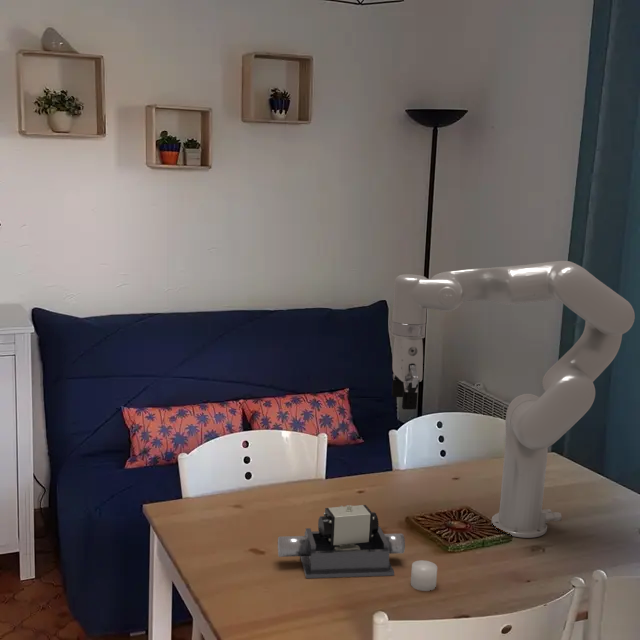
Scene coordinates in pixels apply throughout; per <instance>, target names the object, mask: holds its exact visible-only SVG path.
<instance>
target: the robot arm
mask: <svg viewBox="0 0 640 640" xmlns="http://www.w3.org/2000/svg"><path fill="white" fill-rule="evenodd" d="M393 288H394V289H393V305H392V306H393V307H392V317H391V318H392V319H391V320H392V321H391V333H390V335H391V336H392V337H394V341H393V342H394V343H393V350H392V351H393V352H392V372H393V374H392V379H393V380H392V383H391V384H392V385H391V396H392V398H402V403H401V408H402V410H417V406H418V404H417V403H418V392H419V391H418V387H419V384H418V383H420V382H422V380H423V374H424V373H423V371H424V370H423V369H424V368H423V367H424V365H423V364H424V343H423V339H424V338H426V326H427V325H426V323H427V309H428V310H434V311H439V312H446V313H447V312H453V311H454V310H456V309H458V308H459V307H460V306H461V305H462V303H463V302H477V301H479V302H480V301H482V302H485V301H486V302H492V303H496V304H500V305H510V306H511V305H522V304H529V303H538V302H549V301H550V302H551V301H559V302H561V303H562V304H563V305H564V306H565V307H567V308H568V309H569V310H570V311H572V312H573V313H575V314H576V315H577V316H579V318H581V319H582V320H584V321H585V323H584V329H583V332H582V334H581V335H580V338H578V340H577V341H576V342H575V343H574V344H573V346H571V348H570V349H569V350H567V352H565V353H564V355H562V356H561V357H560V358H559V359H558V360H557V361H556V362H555V363H554V364H553V365H552V366H551V367H550V368H548V370H547V371H546V372H545V373H544V376H543V378H542V388H543V391H544V392H543V393H542V395H540V396H538V395H535V394H533V393H523V394H520V395H517V396H516V397H514V398H513V399H512V400H511V402H510V403H509V405H508V407H507V409H506V413H505V441H504V442H505V444H504V457H503V465H502V466H503V467H502V476H501V477H502V478H501V490H500V502H499V510H498V512H497V513H495V514H494V515H492V517H491V524H492V523H493V525H494V526H496V527H497V528H499V529H501V530H503V531H505V532H508V533H510V534H511V535H512V537H516V538H522V539H524V538H525V539H527V538H528V539H529V538H530V539H531V538H539V537H542V536H543V535H545V534H546V533H547V531H548V524H547V523H549V522H550V521H553V522H560V521H561V520H562V513H561V512H557V511H556V512H553V511H552V509H550V508H548V509H543V502H544V501H543V500H544V492H545V491H544V490H545V483H546V472H547V471H546V470H547V462H548V451H549V449H548V448H549V447H550V446H553V445H554V444H555V443H556V442H557V441H559V440H560V439H561V438H562V437H563V436H564V435H565V434H566V433H567V432H568V431H569V430H571V428H572V427H574V426H575V424H577V422H578V421H579V420H581V418H583V417H584V416H585V414H586V413H587V412H588V411H589V410H590V409H591V407H592V406H593V403H594V401H595V398H596V388H595V384H594V381H595V380H597V378H598V377H599V376H600V375H601V374H602V373H604V371H605V370H606V369H607V368H608V367H609V366H610V364H611V363H612V362H613V360H614V359H615V358H616V356H617V355H618V353H619V350H620V347H621V344H622V338H623V335H624V334H626V333H627V332H629V331H630V329H632V327H633V325H634V322H635V319H636V317H635V310H634V308H633V306H632V304H631V302H629V301H628V300H627V299H625V298H624V297H623V296H622V295H620V294H619V293H617V292H616V291H615V290H613V289H612V288H611V287H609V286H607V284H605V283H604V282H602V281H601V280H599V279H598V278H596V277H595V276H594V275H593V274H592V273H590V272H589V271H588V270H587V269H585V268H584V267H583V266H581V265H579V264H577V263H576V262H575V263H574V262H573V261H569V260H557V261H546V262H539V263H529V264H519V265H510V266H509V265H508V266H496V267H495V266H494V267H485V268H481V267H480V268H470V269H469V268H468V269H459V270H451V271H442V272H440V273H436V274H434V275H433V276H432V277H431V278H427V277H426V276H424V275H419V274H411V273H410V274H409V273H406V274H403V273H402V274H400V275H398V276H396V277H395V279H394V287H393ZM493 525H492V526H493ZM511 535H510V536H511Z"/></svg>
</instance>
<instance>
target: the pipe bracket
mask: <svg viewBox="0 0 640 640" xmlns="http://www.w3.org/2000/svg"><path fill="white" fill-rule="evenodd" d="M311 529H312V528H309V527H308V528H307V527H306V528H305V531H304V535H296V536H295V535H294V536H292V535H290V536H289V535H287V536H278V538H277V556H278V557H279V558H284V557H286V558H288V557H300V561H301V563H302V565H301V566H302V568H303V571H304V575H305V579H325V578H328V579H330V578H356V577H358V578H359V577H360V578H361V577H385V576H386V577H387V576H389V577H390V576H391V577H392V576H395V570H394V568H393V566H392V564H391V562H390V554H391V555H392V554H404V553H405V548H406V541H405V536H404V533H384V532H383V529H382V527H381V526H379V528H378V532H377V533H375V534H373V537H372V542H365V543H356V545H358V546H359V547H360V550H337V551H333V549H334V548H335V547H337V546H336V545H333V546H330V544H329V543H328V541H327V540H326V538H321V537H320V534H319V530H318V531H317V530H315V531H313V530H311Z"/></svg>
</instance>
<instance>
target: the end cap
mask: <svg viewBox="0 0 640 640" xmlns="http://www.w3.org/2000/svg"><path fill="white" fill-rule="evenodd" d="M410 574H411V575H410V586H411V587H412V588H413V589H415V590H417V591H421V592H430V590H431V591H434V590H435V589H436V588H437V579H438V578H437V576H438V566H437V564H436V563H434V562H432V561H429V560H423V559H421V560H420V559H419V560H415V561H413V562H412V563H411V572H410ZM435 587H436V588H435Z"/></svg>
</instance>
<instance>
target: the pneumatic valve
mask: <svg viewBox="0 0 640 640" xmlns="http://www.w3.org/2000/svg"><path fill="white" fill-rule="evenodd" d="M317 524H318V526H317V528H318V531H319V534H320V537H321V538H326V540H327V541H328V543H329V544H330V546H333V545H336V546H337V547H335V548H334V549H333V551H337V550H360V547H359V546H358V545H356V543H365V542H372V537H373V534H375V533H377V532H378V528H379V527H380V526H379V525H380V524H379V518H378V515H377V513H376V512H375V511H371V509H370V508H369V507H368V506H367V505H366V504H361V505H360V504H359V505H351V504H350V505H348V504H346V505H345V506H343V505H339V506H334V507H333V506H332V507H325V509H324V512H323V515H321V516H319V517H318V522H317Z"/></svg>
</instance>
